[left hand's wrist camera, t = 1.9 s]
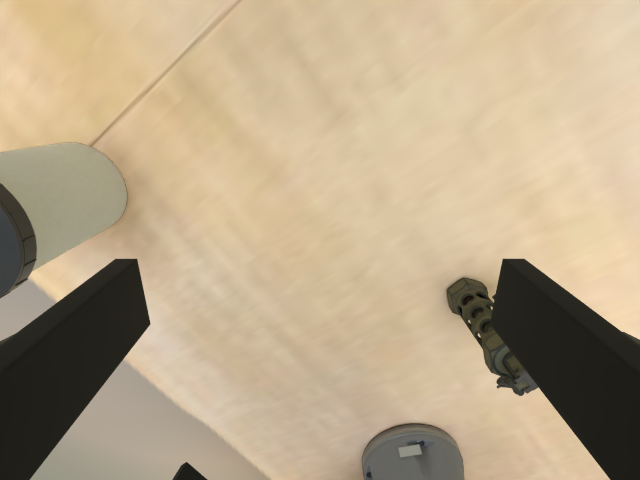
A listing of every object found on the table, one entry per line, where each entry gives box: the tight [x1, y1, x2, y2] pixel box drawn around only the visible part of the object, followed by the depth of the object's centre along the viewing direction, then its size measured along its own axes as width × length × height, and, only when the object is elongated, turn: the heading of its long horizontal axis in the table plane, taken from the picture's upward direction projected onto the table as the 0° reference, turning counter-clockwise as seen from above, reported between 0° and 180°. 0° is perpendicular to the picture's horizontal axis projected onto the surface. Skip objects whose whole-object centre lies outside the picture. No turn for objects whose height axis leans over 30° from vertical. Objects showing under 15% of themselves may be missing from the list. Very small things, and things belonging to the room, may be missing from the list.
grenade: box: [447, 278, 538, 396], centre depth 37 cm, size 9×6×15 cm, turn 134°
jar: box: [0, 142, 127, 271], centre depth 33 cm, size 10×10×16 cm
